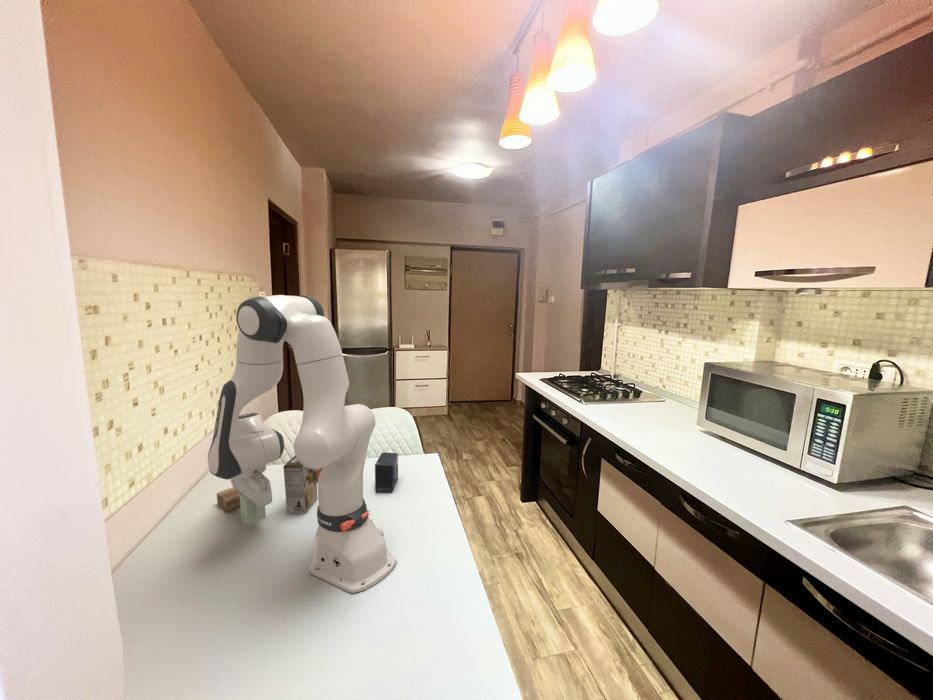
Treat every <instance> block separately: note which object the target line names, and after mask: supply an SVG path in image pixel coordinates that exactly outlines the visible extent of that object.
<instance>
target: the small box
mask: <svg viewBox="0 0 933 700" xmlns="http://www.w3.org/2000/svg"><path fill="white" fill-rule="evenodd" d="M374 477H375V478H374V479H375V480H374V493H377V494H378V493H382V494H383V493H384V494H392V493H393V492H394V490H395V487H396V485H397V482H398V480H399V453H398V452H384V451H383V452H381V454H380V455H379V457H378V458H377V460H376V462H375V464H374Z"/></svg>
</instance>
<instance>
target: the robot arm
mask: <svg viewBox="0 0 933 700" xmlns="http://www.w3.org/2000/svg"><path fill="white" fill-rule="evenodd" d="M235 316H236V317H235V318H236V323H237V324H236V325H237V328H238V334H237V339H236V340H237V341H236V352H235V355H236V359H235V362H236V364H235V369H234V372H233V374H232V375H231V377H230V379H229V380H227V382H226V383H224V384H223V386H222V388H221V392H220V395H219V399H218V406H217V412H216V419H215V423H214V430H213V435H212V436H213V438H212V440H211V445H210V448H209V449H208V454H207V464H208V469H209V472H210V473H211V475H212V476H214V477H216V478H219V479H221V480H222V479H223V480H228V481H229V480H230V483H231V486H232V487H234V488H236V489H237V490H238V491H239V493H240V494H243V495H245V496H246V497H247V498H248V499H250V500H251V501H252V502H254V503H255V504H256V506H257V509H255V512H256V513H255V514H256V515H257V516H260V515H263V514H264V507H265V508H266V506H268V505H270V504H272V503H273V494H272V492H273V491H272V486H271V482H270V480H269V478H268V477H267V476H266V475H264V472H265V471H266V470H267V465H268V464H271V463H274V462H276V461H278V460H279V459H281V457H282V455H283V453H284V450H285V441H284V436H283V435H282V433H281V432H279V431H277V430H275V429H273V428H270V427H268V426H267V425H266V424H265V423H264V421H263V419H262V415H261V414H259V413H257V412H256V413H255V412H252V413H251V412H250V413H246V414H245V413H244V414H241V412H242V410H243V409H244V408H245V407H246V406H247V405H248V404H249V403H251V402H252V401H253V400H255V399H256V398H259V397H260V396H261V395H264V394H265V393H267V392H269V391H270V390H272V389H273V388H275V386H277V385H278V384H279V382H280V380H281V379H282V375H283V372H284V350H283V349H284V348H283V347H284V342H287V343H288V344H289V345H290V346H291V349H292V352H293V356H294V360H295V364H296V369H297V372H298V373H297V374H298V377H299V380H300V381H299V382H300V385H301V391H302V395H303V398H302V399H303V410H302V421H301V424H300V429H299V431H298V433H297V434H296V437H295V439H294V442H293V451H294V454H295V455H296V457H297V459H298V461H299V462H300V463H301V464H302V465H303V466H305V467H307V468H309V469H320V468H323V469H322V471H321V472H320V475H319V478H318V482H317V496H318V498H317V500H318V506H317V510H316V511H317V512H316V519H317V524H318V527H317V530H316V533H315V536H314V539H313V540H314V541H313V560H312V563H311V564H310V566H309V573H310V574H311V575H313V576H315V577H318V578H320V580H321V579H322V580H323V581H325V582H328V583H330V584H331V585H334V586H336V587H338V588H340V589H341V590H345V592H349V593H350V594H356V593H359V592H362V591H365V590H367V589H369V588H372V587H373V586H375V585H376V584H378V583H379V582H380V581H382V580H383V579H385V578H386V577H387V576H388V575H389V574H390V573H391V572H392V571H393V570H394V568H395V567H396V565H397V562H398V561H397V558H396V556H395V555H394V554H393V553H392V552H391V551H390V550H389V549H388V547H387V545H386V540H385V539H384V535H385V533H384V530H383V529H382V528H377V527H376V525H375V524H374V521H373V519H372V518H370V517H369V516H370V515H371V514H370V513H371V512H370V510H368V508H367V504H366V501H365V498H364V468H365V464H366V458H367V452H368V448H369V443H370V439H371V437H372V435H373V431H374V429H375V427H376V417H375V414H374V412H373V410H372V409H371V408H369V407H368V406H367V405H364V404H360V403H354V404H350V405H345V404H346V403H345V402H346V396H347V392H348V390H349V387H350V378H349V375H348V370H347V366H346V362H345V359H344V355H343V350H342V347H341V344H340V341H339V338H338V336H337V333H336V330H335V328H334V327H333V324H332V322H331V321H330V320H329V319H328V318H327V317H326V316H325V311H324V308H323V306H322V304H321V303H320V302H319V300H317V299H315V298H314V297H311V296H307V295H285V294H274V295H268V296H255V297H251V298H249V299H246V300H244V301H242V302H241V303H240V304H239V306H238V307H237V311H236V315H235ZM240 414H241V415H240ZM295 455H294V456H295Z"/></svg>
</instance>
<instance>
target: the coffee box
mask: <svg viewBox="0 0 933 700" xmlns="http://www.w3.org/2000/svg"><path fill="white" fill-rule="evenodd" d="M283 476H284V477H283V479H284V491H285V492H284V493H285V494H284V495H285V504H286V513H287V514H303V515H304V514H307V513H308V512H309V510H311V508H312V506H313V505H314V503H316V501H317V500H318V482H317V479H316V469H309V468H307V467H305V466H303V465H302V464H301V463H300V462H299V461H298V459H297V457H296V455H294V456H293V457H292V458H290V460H288V461H287V462H286V463H284V465H283Z"/></svg>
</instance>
